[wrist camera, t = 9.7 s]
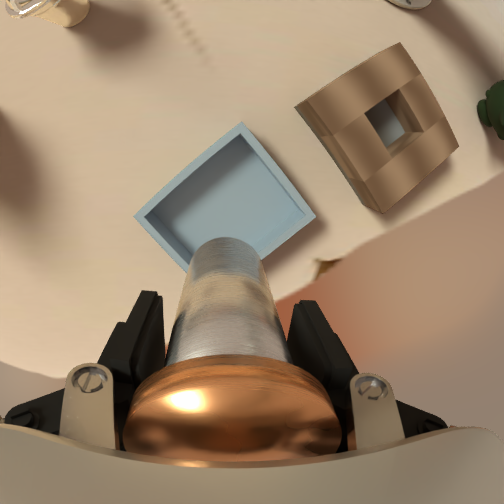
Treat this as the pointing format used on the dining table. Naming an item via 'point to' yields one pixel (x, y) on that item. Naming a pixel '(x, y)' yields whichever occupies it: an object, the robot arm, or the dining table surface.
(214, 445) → the copper capped shaker
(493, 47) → the dining table surface
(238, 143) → the tray
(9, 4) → the cup with straw
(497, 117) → the toy figurine
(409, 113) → the square wooden block
